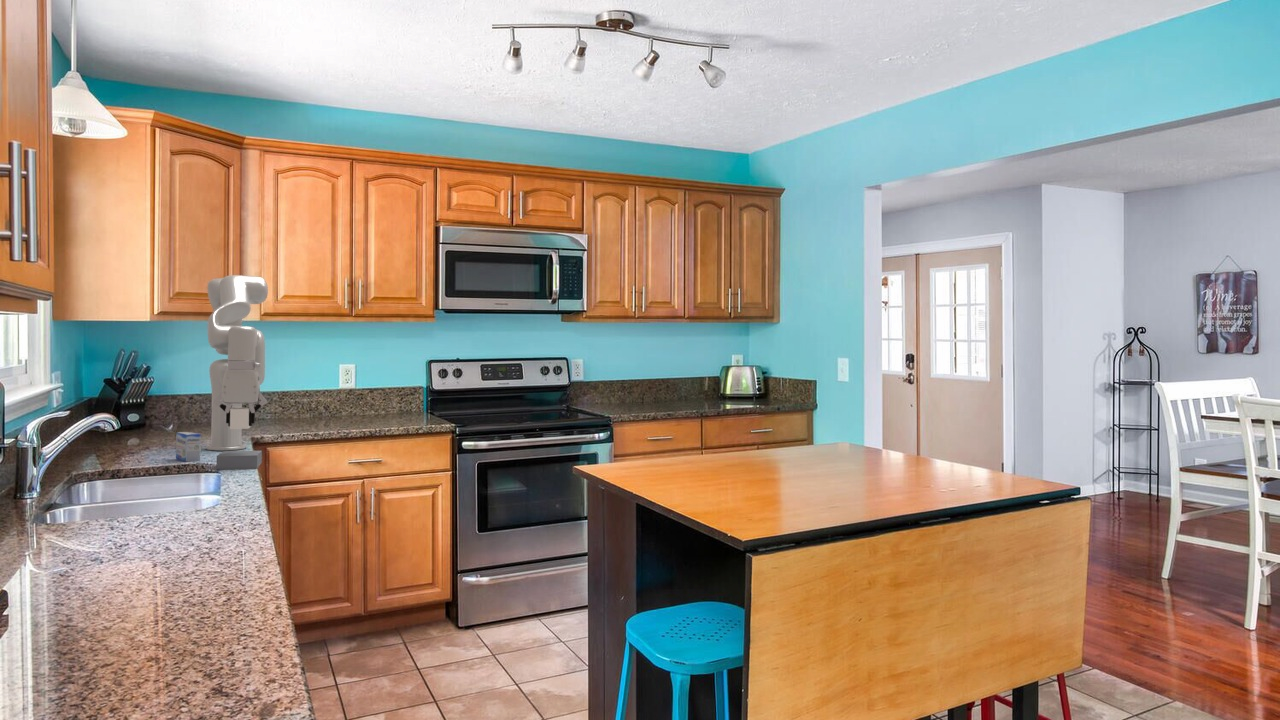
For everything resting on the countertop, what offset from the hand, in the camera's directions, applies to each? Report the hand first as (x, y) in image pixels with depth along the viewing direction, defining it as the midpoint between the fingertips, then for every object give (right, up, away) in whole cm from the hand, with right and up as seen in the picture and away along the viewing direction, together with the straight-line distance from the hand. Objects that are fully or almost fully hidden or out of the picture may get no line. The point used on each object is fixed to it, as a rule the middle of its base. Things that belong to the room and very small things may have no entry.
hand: (240, 425), depth 241 cm
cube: (0, -1, 0) cm, 1 cm away
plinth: (0, -13, 0) cm, 13 cm away
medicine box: (-22, -12, +10) cm, 27 cm away
